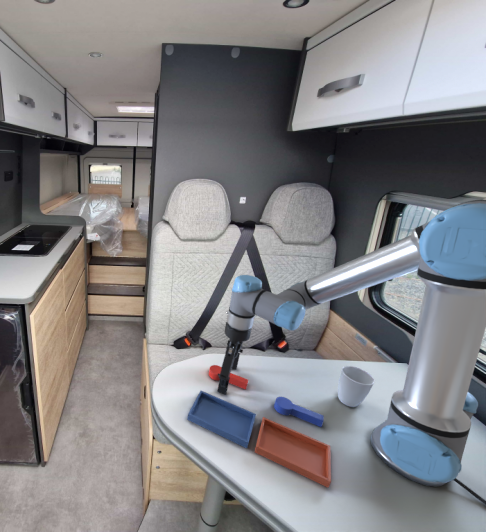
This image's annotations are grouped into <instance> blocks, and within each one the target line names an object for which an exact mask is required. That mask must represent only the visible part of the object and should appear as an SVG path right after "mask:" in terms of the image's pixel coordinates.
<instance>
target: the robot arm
mask: <svg viewBox="0 0 486 532" xmlns="http://www.w3.org/2000/svg"><path fill="white" fill-rule="evenodd" d="M413 272H416V276H417V278H418V279H419V280H420V281H421V282H423V284H424V285H425V288H424V291H423V296H422V301H421V306H420V311H419V315H418V319H417V325H416V329H415V334H414V339H413V343H412V348H411V352H410V357H409V361H408V366H407V371H406V376H405V380H404V385H403V389H400V390H396V391H395V392H393V393H392V396H391V400H390V403H389V409H388V413H387V418H386V419H385V421H382V423H380V424H379V425H377V426H376V427H375V428H374V429H373V430H372V433H371V434H370V440H369V441H370V444H371V447H372V448H373V450H374V452H375V453H376V455H377V456H378V457H379V458H380V459H381V461H383V463H385V464H386V465H387V466H388V467H389V468H391V470H394V472H396V473H398V474H400V475H401V476H402V477H404V478H406V479H408V480H411V481H412V482H415V483H416V484H417V483H418V484H420V485H423V486H427V487H435V488H437V487H442V486H445V485H446V484H447V483H449V482H452V481H454V482H455V483H456V484H457V485H459V486H460V487H462V489H464V490H466V491H467V493H470V494H471V495H472V496H473V497H475V498H476V499H478V500H479V501H480V502H481V503H483V505H485V506H486V500H485V499H484V498H483V497H482V496H480V495H479V494H478V493H476V492H475V491H474V490H473V489H471V488H470V487H469V486H467V485H466V484H465V483H464V482H462V481H461V480H459V479H458V478H457V477H458V475H459V474H460V473H461V471H462V468H463V467H462V466H463V465H462V460H463V456H464V451H465V448H466V444H467V442H468V438H469V435H470V430H471V427H472V418H473V416H474V414H476V413H477V410H478V407H479V402H478V400H477V399H476V397H475V396H474V395H473V394H472V393H471V392H469V389H470V385H471V382H472V377H473V374H474V371H475V368H476V363H477V360H478V356H479V353H480V349H481V346H482V342H483V339H484V336H485V332H486V199H473V200H468V201H464V202H460V203H457V204H455V205H454V206H451V207H449V208H447V209H446V210H444V211H441V212H440V213H438V214H437V215H435V216H434V217H433V218H431V219H430V220H429V221H427V222H425V223H423V224H421V225H419V226H416V227H415V228H413V230H412V233H411V234H410V235H407V236H405V237H403V238H401V239H398V240H396V241H393V242H392V243H389V244H387V245H384V246H382V247H380V248H377V249H374V250H373V251H371V252H368V253H365V254H364V255H361V256H359V257H357V258H355V259H352V260H349V261H348V262H345V263H343V264H340V265H338V266H335V267H333V268H331V269H328V270H327V271H324V272H322V273H319V274H317V275H315V276H313V277H310V278H308V279H306V280H303V281H300V282H297V283H295V284H292V285H291V286H290V287H288V288H286V289H285V290H283V291H280V292H279V293H273V292H272V291H271V292H270V291H268V290H266V289H263V282H262V280H261V279H259V278H258V277H256V276H254V275H251V274H240V275H237V276H236V277H235V278H234V281H233V285H232V288H231V295H230V300H229V301H230V302H229V307H228V310H226V312H225V313H226V314H227V317H226V322H225V326H224V335H225V336H226V337H227V338H228V340H227V343H226V345H227V346H226V348H225V352H224V353H225V354H224V357H223V361H222V365H221V367H222V368H221V372H220V374H219V373H218V376H219V378H220V380H219V381H218V386H217V390H216V392H218V393H220V394H221V395H224V396H226V395H227V393H228V388H229V385H230V383H229V379H230V377H229V376H230V373H232V369H233V370H235V371H236V370H237V369H238V365H239V361H240V357H241V354H243V352H244V349H242V348H243V344H244V342H247V341H249V339H250V338H251V335H252V329H253V326H254V321H255V317H256V316H257V317H259V318H261V319H264V320H265V321H267V322H270V323H271V324H273V325H276V326H277V327H279V328H283V329H285V330H288V331H296V330H297V329H299V327H300V325H301V324H302V323H303V321H304V318H305V315H306V310H308V309H311V308H314V307H317V306H320V305H322V304H325V303H327V302H330V301H333V300H336V299H339V298H341V297H345V296H348V295H350V294H353V293H356V292H359V291H361V290H365V289H368V288H371V287H373V286H376V285H379V284H382V283H385V282H387V281H391V280H394V279H396V278H399V277H402V276H405V275H407V274H410V273H413Z"/></svg>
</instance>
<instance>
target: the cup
mask: <svg viewBox="0 0 486 532" xmlns="http://www.w3.org/2000/svg"><path fill="white" fill-rule="evenodd" d="M375 381H376V380H375V378H374V376H373V375H372V374H370V373H369V372H368V371H366V370H364V369H362V368H360V367H357V366H353V365H344V366H343V367H342V368H341V370H340V375H339V378H338V384H337V396H338V399H339V400H338V401H340V402H341V403H342V404H343V405H345V406H347V407H349V408H356V407H358V406H359V405H361V403H362V402H363V401H364V400H365V399H366V398H367V396H368V395H369V393H370V392H371V389H372V388H373V386H374V384H375V383H376V382H375Z"/></svg>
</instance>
